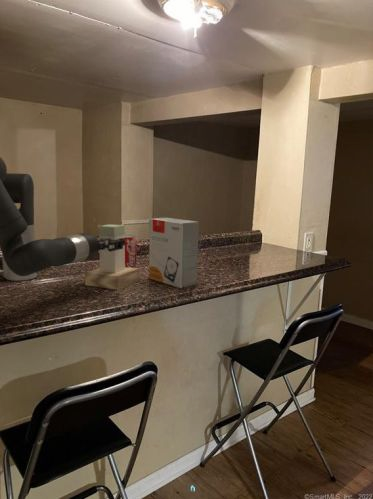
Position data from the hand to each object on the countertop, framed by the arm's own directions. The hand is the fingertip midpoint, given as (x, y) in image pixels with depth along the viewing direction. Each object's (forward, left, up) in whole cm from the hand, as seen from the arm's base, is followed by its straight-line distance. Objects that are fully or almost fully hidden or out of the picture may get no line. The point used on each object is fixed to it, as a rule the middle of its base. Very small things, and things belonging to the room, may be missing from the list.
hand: (111, 240), depth 120 cm
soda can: (-4, +14, -14) cm, 20 cm away
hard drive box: (+16, +10, -14) cm, 23 cm away
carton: (0, 0, -9) cm, 9 cm away
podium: (0, 0, -13) cm, 13 cm away
